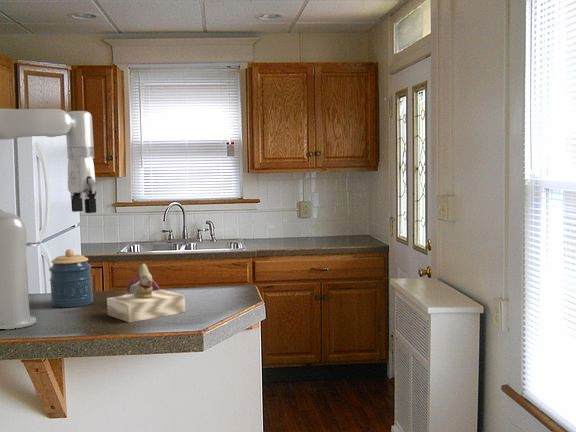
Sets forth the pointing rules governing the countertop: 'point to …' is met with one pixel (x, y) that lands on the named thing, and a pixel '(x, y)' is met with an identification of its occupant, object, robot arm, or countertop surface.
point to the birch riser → (146, 306)
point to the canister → (71, 281)
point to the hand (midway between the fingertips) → (84, 212)
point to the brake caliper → (133, 283)
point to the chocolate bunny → (144, 284)
